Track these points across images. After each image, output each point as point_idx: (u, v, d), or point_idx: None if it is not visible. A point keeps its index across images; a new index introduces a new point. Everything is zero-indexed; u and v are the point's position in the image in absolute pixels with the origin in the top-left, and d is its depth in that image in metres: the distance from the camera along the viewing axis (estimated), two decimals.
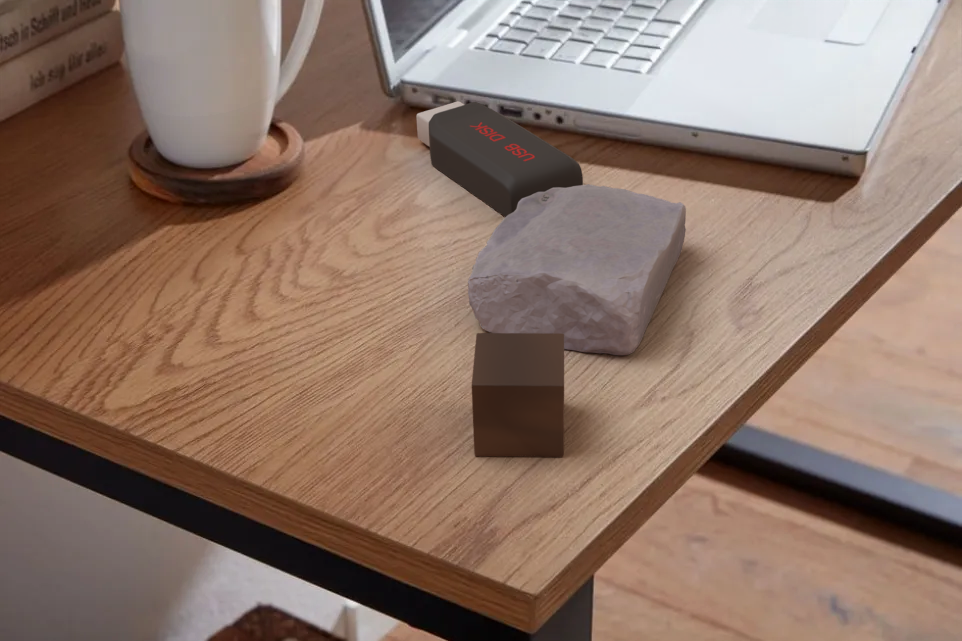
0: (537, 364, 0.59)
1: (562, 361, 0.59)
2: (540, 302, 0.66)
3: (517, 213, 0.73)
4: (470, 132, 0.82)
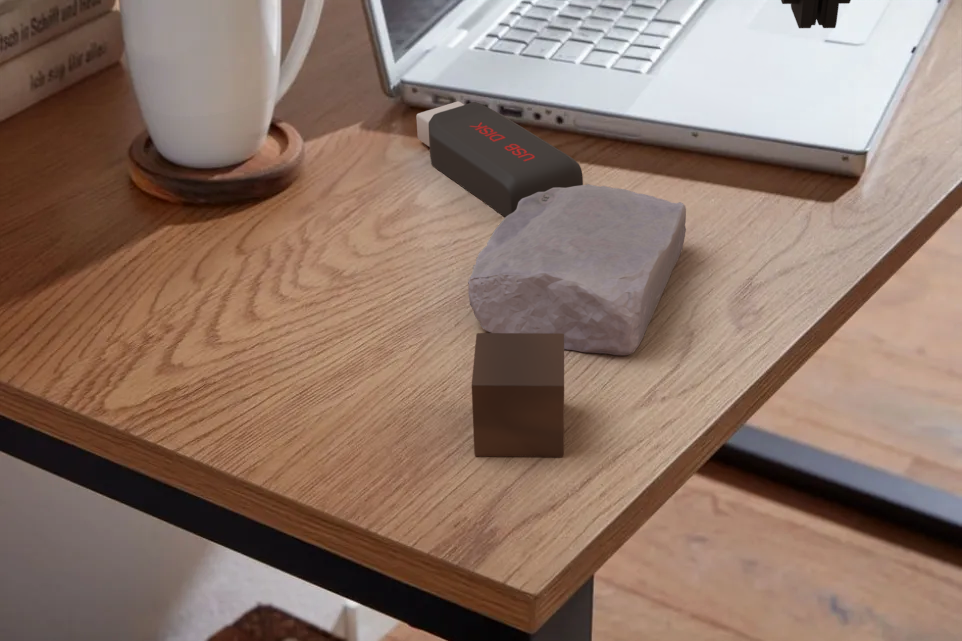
0: (537, 364, 0.59)
1: (562, 361, 0.59)
2: (540, 302, 0.66)
3: (517, 213, 0.73)
4: (470, 132, 0.82)
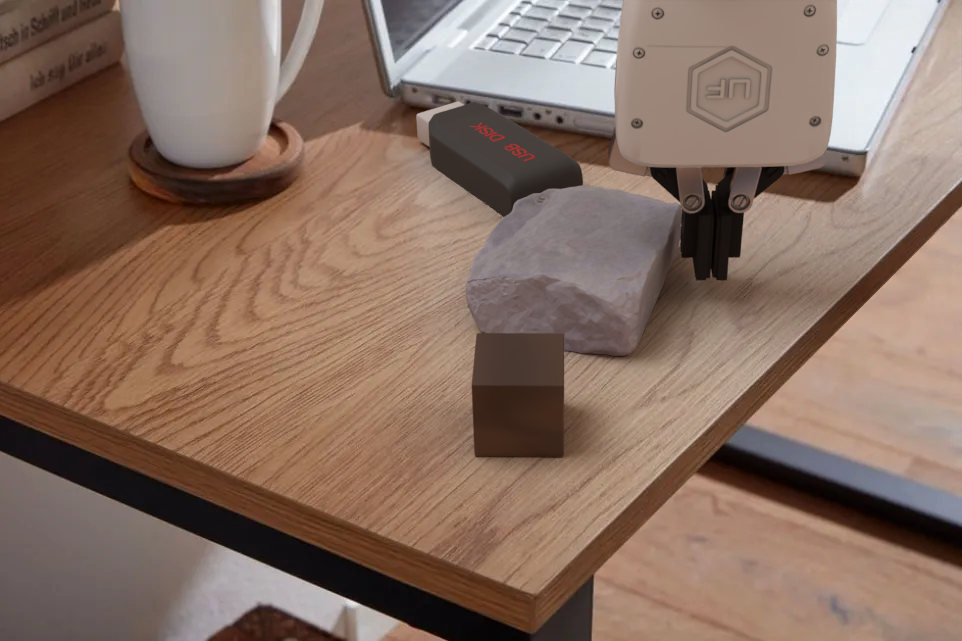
0: (537, 364, 0.59)
1: (562, 361, 0.59)
2: (538, 303, 0.66)
3: (513, 215, 0.73)
4: (470, 132, 0.82)
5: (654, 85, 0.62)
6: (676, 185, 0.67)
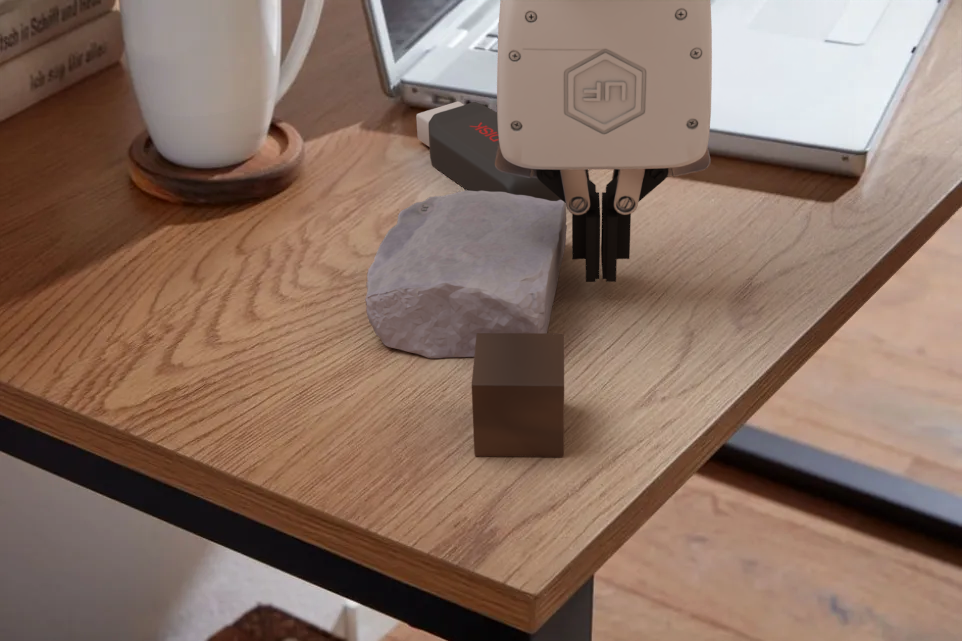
0: (537, 364, 0.59)
1: (562, 361, 0.59)
2: (442, 312, 0.65)
3: (400, 226, 0.72)
4: (470, 132, 0.82)
5: (530, 87, 0.62)
6: (562, 187, 0.67)
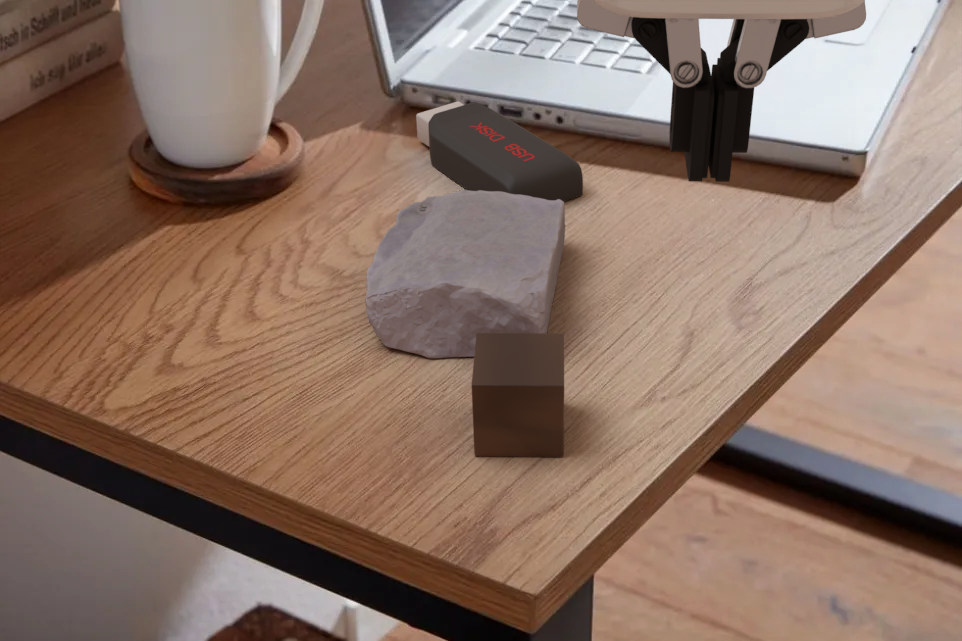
0: (537, 364, 0.59)
1: (562, 361, 0.59)
2: (443, 312, 0.65)
3: (398, 226, 0.72)
4: (470, 132, 0.82)
5: None
6: (665, 49, 0.50)
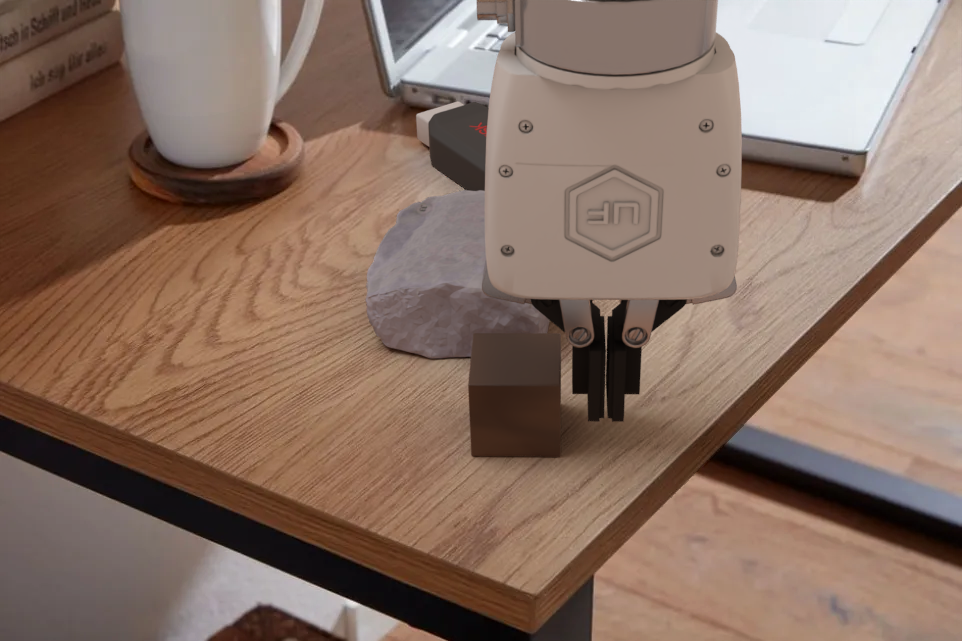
0: (534, 364, 0.59)
1: (559, 361, 0.59)
2: (443, 312, 0.65)
3: (399, 226, 0.72)
4: (470, 132, 0.82)
5: (525, 208, 0.52)
6: (561, 315, 0.57)
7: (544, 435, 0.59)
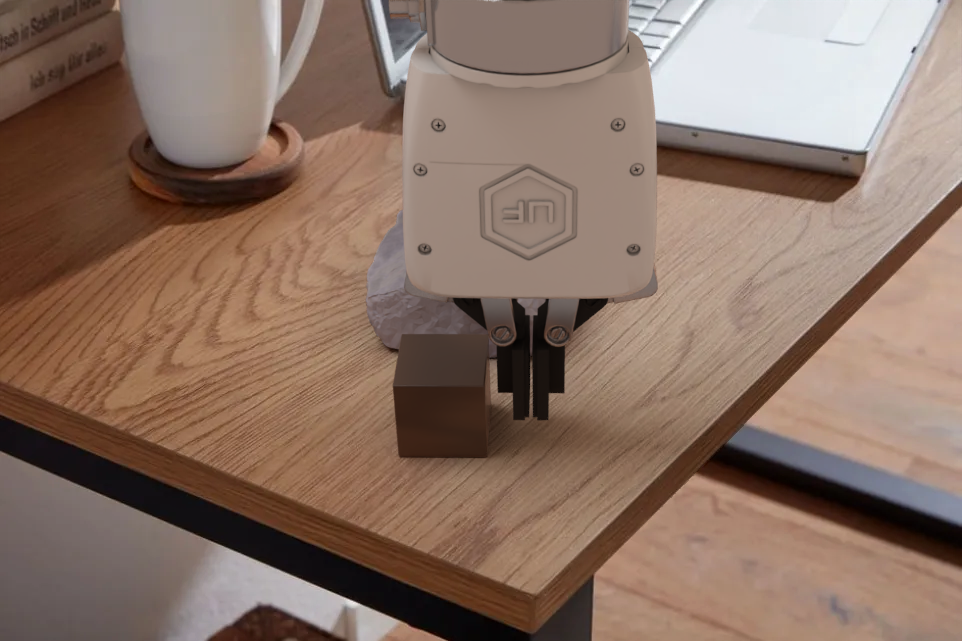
0: (459, 365, 0.59)
1: (484, 362, 0.59)
2: (443, 312, 0.65)
3: (399, 226, 0.72)
4: None
5: (440, 206, 0.52)
6: (484, 314, 0.57)
7: (470, 436, 0.59)
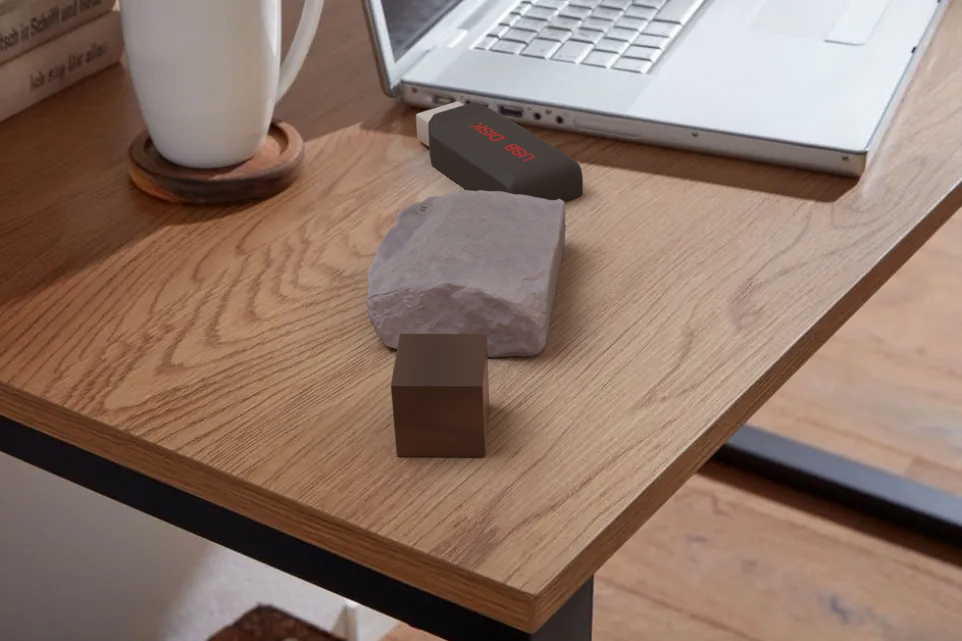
0: (457, 365, 0.59)
1: (482, 361, 0.59)
2: (444, 312, 0.65)
3: (399, 226, 0.72)
4: (470, 132, 0.81)
5: None
6: None
7: (468, 435, 0.59)
